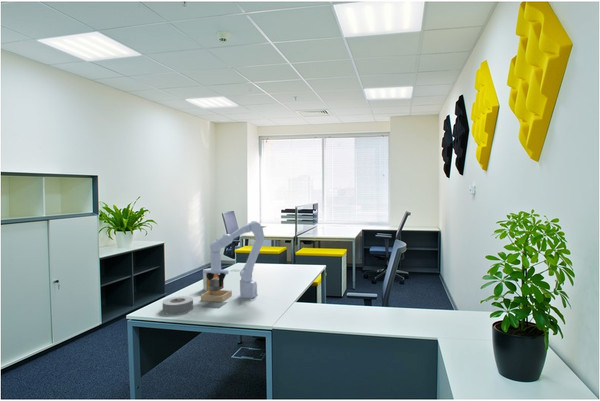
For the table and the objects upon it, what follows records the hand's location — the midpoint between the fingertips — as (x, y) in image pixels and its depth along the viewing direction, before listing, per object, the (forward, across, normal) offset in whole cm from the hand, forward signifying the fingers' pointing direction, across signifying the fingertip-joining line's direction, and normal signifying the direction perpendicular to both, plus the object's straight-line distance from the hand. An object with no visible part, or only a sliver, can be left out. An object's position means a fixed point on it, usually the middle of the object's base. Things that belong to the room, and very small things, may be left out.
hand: (216, 286), depth 217 cm
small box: (+8, -13, +18) cm, 23 cm away
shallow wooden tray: (+7, 0, 0) cm, 7 cm away
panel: (+7, +5, -12) cm, 15 cm away
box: (+2, 0, 0) cm, 2 cm away
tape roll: (+8, -11, -22) cm, 26 cm away
